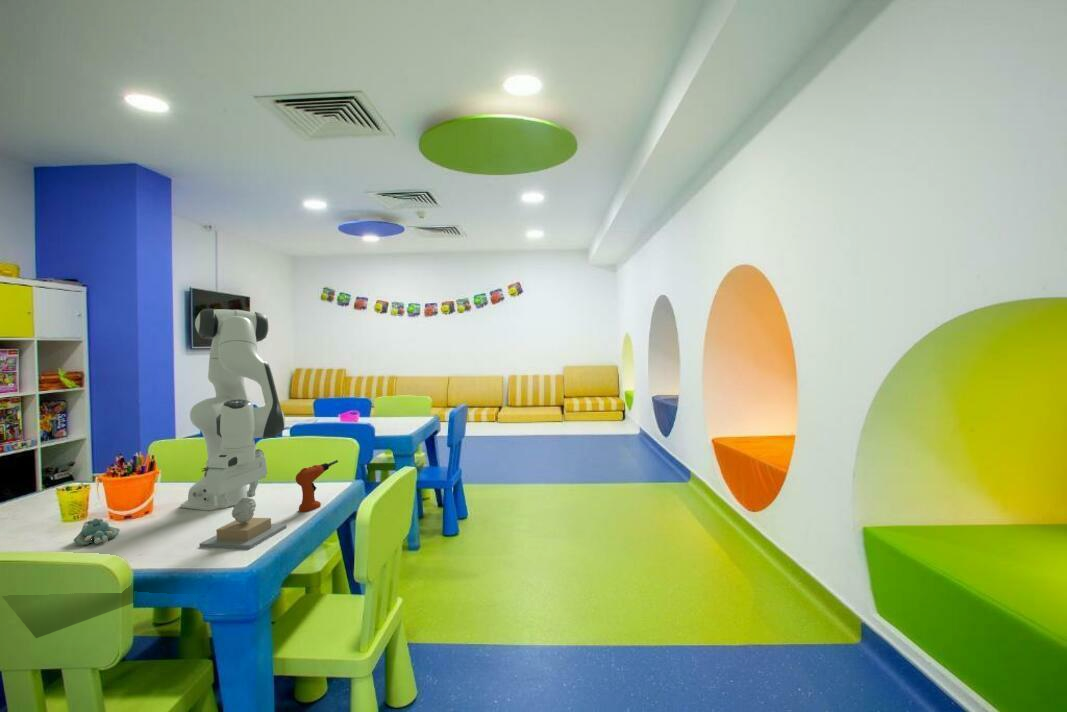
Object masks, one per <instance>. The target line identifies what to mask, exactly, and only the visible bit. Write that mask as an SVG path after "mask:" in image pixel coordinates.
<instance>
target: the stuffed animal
mask: <svg viewBox="0 0 1067 712" xmlns="http://www.w3.org/2000/svg"><path fill="white" fill-rule="evenodd" d="M120 531H121V529H120V528H118V527H113V526H110V525H109V522H108V521H107V520H106V519H104V518H97V517H96V518H93V520H87V521H86V522H84V524H83V526H82V528H81V531H80V532H79V534H77V536H76V537H75V538H73V542H74V543H75V544H76V545H78V544H79V546H82V545H83V546H88V545H90V544H89V543H91V542H92V540H91V539H94V540H93V541H94V544H96V545H98V544H100V543H101V542H102V543H106V542H108V541H109V540H112V539H114V538H115V536H116V537H117V536H118V534H119V532H120ZM92 543H93V542H92ZM92 543H91V544H92Z"/></svg>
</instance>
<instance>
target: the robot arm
mask: <svg viewBox="0 0 1067 712" xmlns="http://www.w3.org/2000/svg"><path fill="white" fill-rule="evenodd" d="M194 324H195V329H196V332H197V335H198V336H200V338H203V339H206V340H211V345H210V349H209V350H210V351H209V357H208V358H209V359H208V361H209V362H208V373H207V375H208V376H207V378H208V381H209V382H210V383H211V384H212V386H213V387H214V390H215V391H214V392H215V397H209V398H206V399H204V400H201V401H199V402H197V403H195V404H194V405H193V406H192V407H191V409H190V412H189V419H190V422H191V423H192V425H193V426H194V427H195V428H196V429H198V430H200V432H201V434H202V436H203V438H204V441H205V445H206V453H207V460H206V462H205V467H203V468H201V471H200V472H201V473H203V472H204V474H203V477H201V478H200V479H199V480H198V481H196V483H194V484H193V485H192V486H191V487H190V488H189V490H188V492H187V493H188V494H187V500H185V501H182V503H181V504H180V505H179V506H180V508H185V509H194V510H200V511H208V512H209V511H213V510H217V509H221V508H222V509H223V508H229V507H232V506H233V507H235V505H236V504H237V503H238V502H239V501H240V499H242V498H253V497H255V496H256V490H257V487H258V485H259V481H260V480H263V479H266V478H267V474H268V464H267V460H266V457H265V452H264V451H263V450H262V449H260V448H258V449H256V442H255V439H257V438H258V439H259V438H264V439H269V438H270V439H273V438H274V439H276V437H278V436H279V435H280V434H282V432H283V431H285V426H286V417H285V414H284V412H283V410H282V408H281V404H280V401H279V395H278V392H277V389H276V384H275V381H274V377H273V373H272V370H271V367H270V365H269V364H270V363H268V361H266V360H264V359H262V358H261V356H260V355H259V353H258V345H257V344H258V342H262V341H263V340H264V339H266V338H267V335H268V334H269V329H270V324H269V320H268V317H267V316H266V315H265V314H264V313H260V312H256V311H255V312H254V311H249V310H248V311H247V310H242V309H223V308H222V309H221V308H220V309H215V308H204V309H201V310H200V311H199V312H198V314H197V316H196V318H195V321H194ZM245 378H247V379H249V380H251V381H254V382H256V383H257V384H258V385H259V386H260V388H261V391H262V396H263V400H264V403H265V405H264V406H259V407H258V406H257V407H256V406H255V407H254V404H253V401H252V399H251V398H250V397H249V396H248V395H247V392H246V391H247V390H246V386H245ZM247 485H249V487H248V486H247Z"/></svg>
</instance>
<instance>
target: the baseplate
mask: <svg viewBox="0 0 1067 712" xmlns="http://www.w3.org/2000/svg"><path fill="white" fill-rule="evenodd" d="M271 520H272V517H252V519H251V520H250V521H248V522H246V523H239V522H237V521H236V520H235V519H234V520H233V521H231V522H229V523H227V524H225V525H223V526H221V527H219V528H217V529H216V535H213V536H212V537H210V538H208V539H206V540H204V541H202V542H200V543H199V548H215V549H216V548H217V549H219V548H220V549H238V548H240V550H241V548H243V549H244V550H247V549H248V550H251V549H253V548H254V547H256V546H257V544H258V545H260V544H262V541H263V542H264V540H265V541H266V540H268V539H270V538H272V537H273V536H275V535H277V534H278V533H280V532H282V531H283V530H285V529H287V528H286V527H287V524H285V523H284V524H281V523H277V524H276V523H272V521H271ZM269 537H270V538H269ZM255 545H256V546H255ZM252 547H253V548H252ZM250 548H251V549H250Z"/></svg>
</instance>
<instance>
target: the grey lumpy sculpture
mask: <svg viewBox="0 0 1067 712" xmlns="http://www.w3.org/2000/svg"><path fill="white" fill-rule="evenodd" d="M256 506H257V504H256V500H255V499H253V498H252V497H250V498H242V499H240V501H239V502H238V503H237V504H236V505H234V506H233V509H232V510H231V516H232V518H234V521H235V520H236V521H237V522H239V523H246V522H248V521H250V520H251V519H252V518H254V515H255V511H256Z"/></svg>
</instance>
